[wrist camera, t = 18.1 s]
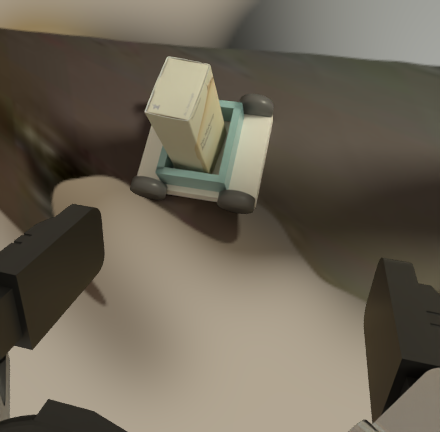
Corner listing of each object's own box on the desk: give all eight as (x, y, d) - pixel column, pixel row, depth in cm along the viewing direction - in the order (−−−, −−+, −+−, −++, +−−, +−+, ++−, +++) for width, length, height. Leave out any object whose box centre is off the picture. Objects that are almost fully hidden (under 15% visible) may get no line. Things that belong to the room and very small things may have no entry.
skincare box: (210, 180, 47) (189, 124, 35) (174, 170, 48) (141, 113, 36) (227, 131, 48) (212, 63, 37) (192, 123, 49) (166, 54, 38)
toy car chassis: (274, 115, 50) (273, 93, 46) (254, 215, 46) (252, 202, 42) (163, 102, 52) (153, 80, 48) (136, 196, 49) (123, 182, 45)
